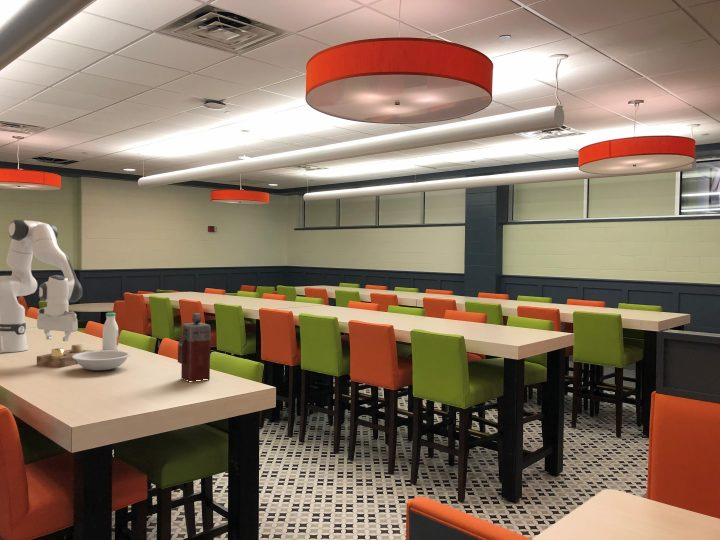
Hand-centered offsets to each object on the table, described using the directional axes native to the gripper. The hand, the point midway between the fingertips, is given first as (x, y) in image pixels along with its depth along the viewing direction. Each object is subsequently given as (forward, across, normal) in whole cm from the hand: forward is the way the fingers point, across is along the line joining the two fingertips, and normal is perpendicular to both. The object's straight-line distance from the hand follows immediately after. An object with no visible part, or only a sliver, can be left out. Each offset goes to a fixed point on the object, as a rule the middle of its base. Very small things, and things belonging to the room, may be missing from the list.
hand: (57, 340), depth 260 cm
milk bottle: (+12, +4, -40) cm, 42 cm away
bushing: (+11, 0, 0) cm, 11 cm away
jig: (+11, 0, -6) cm, 13 cm away
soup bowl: (+11, -26, +2) cm, 29 cm away
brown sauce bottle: (+10, -74, +4) cm, 75 cm away
